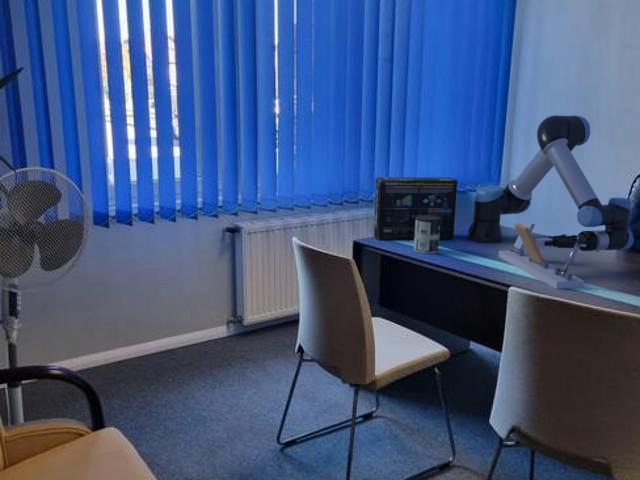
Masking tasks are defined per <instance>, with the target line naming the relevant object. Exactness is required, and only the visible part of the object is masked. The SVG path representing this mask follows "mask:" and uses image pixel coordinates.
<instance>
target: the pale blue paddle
mask: <svg viewBox="0 0 640 480" xmlns="http://www.w3.org/2000/svg"><path fill="white" fill-rule="evenodd" d="M523 225H524V226H526V227H528V228H529V230H530V232H531V233H532V232H533V230H534V228H535V226H536V224H535V223H532V222H530V221H527V220H526V221H525V222H524V224H523ZM524 248H525V245H524V243H523V241H522V239H521V237H520V235H519V234H518V237H517V238H516V241H515V243H514V247H512V251H514V252H516V253H518V254H519V250H524Z"/></svg>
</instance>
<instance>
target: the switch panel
mask: <svg viewBox="0 0 640 480" xmlns="http://www.w3.org/2000/svg"><path fill="white" fill-rule="evenodd" d="M514 245H515V244H514ZM514 245H510V247H509V250H499V251H498V258H499V259H501V260H504V261H505V262H507V263H509V264H510V265H513V266H514V267H516V268H518V269H520V270H522V271H523V272H525V273H527V274H529V275H530V276H533V277H534V278H536V279H538V280H539V281H541V282H543V283H545V284H547V285H548V286H550V287H552V288H554V289H556V290H561V289H564V290H565V289H581V288H584V284H585V280H583V279H582V278H580V277H578V276H575V275H574V274H572V273H569V272H568V271H567V273H566V278H565V277H563V276H561V275H559V274H557V273H556V271H557V270H558V269H561V270H562V269H563V268H561V267H557V266H555V265H553V264H551V263H550V262H548V261H545V262H543V266H541V265H539V264H537V263H535V262H534V261H532V260H531V259H530V258H531V257H530V255H529V253H528V251H525V250H524V249H523V250H519V254H518V253H516V252H514V251H512V247H514Z"/></svg>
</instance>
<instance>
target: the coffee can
mask: <svg viewBox="0 0 640 480" xmlns="http://www.w3.org/2000/svg"><path fill="white" fill-rule="evenodd" d="M415 218H416V221H415V237H414V240H413V251H414V252H416V253H420V254H426V255H427V254H438V252H439V250H440V249H439V247H440V246H439V245H440V240H439V235H440V222H441V217H439V216H435V215H417V216H415Z"/></svg>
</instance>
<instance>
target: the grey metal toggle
mask: <svg viewBox="0 0 640 480" xmlns="http://www.w3.org/2000/svg"><path fill="white" fill-rule="evenodd" d="M584 242H585V237H584V236H582V235H579V236H578V235H577V237H576V244H575V246H574V248H572V249H571V252H570V254H569V256H568V258H567V260H566V262H565V263H564V265H563V268H561V269H562V270H561V269H558V270H557V271H556V273H557V274H559V275H561V276H563V277H565V278H566V273H567V272H568V271H569V269H570V267H571V265H572V262H573V261H574V259H575V257H576V255H577V253H578V251H579V250H580V249H579V247H580V245H581V244H583V243H584Z"/></svg>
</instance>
